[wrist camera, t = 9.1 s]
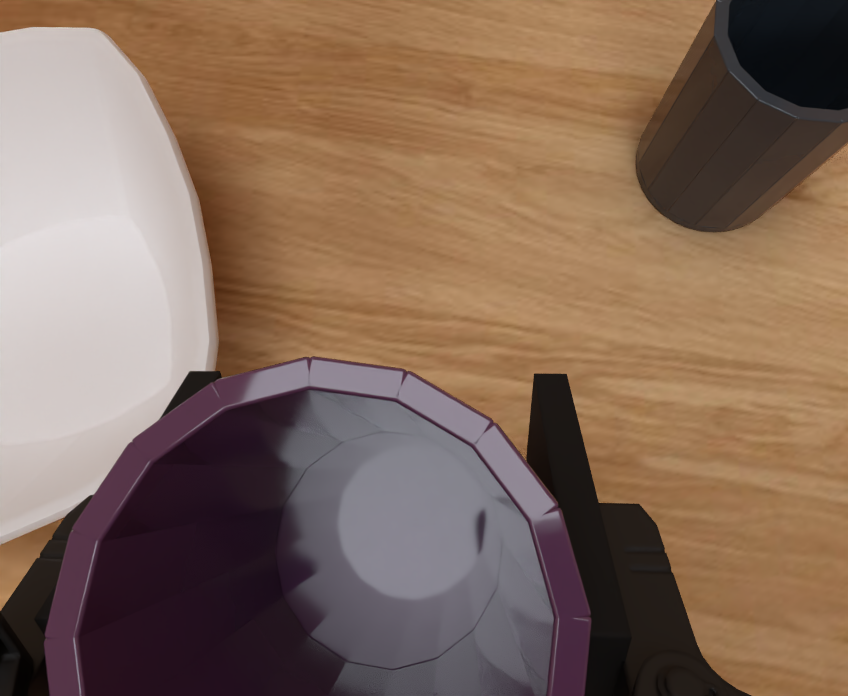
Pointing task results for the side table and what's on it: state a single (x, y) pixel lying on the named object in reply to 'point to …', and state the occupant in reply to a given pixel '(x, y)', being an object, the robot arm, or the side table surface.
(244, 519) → the plum cup
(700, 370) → the side table surface
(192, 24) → the side table surface
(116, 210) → the bowl
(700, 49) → the slate cup
